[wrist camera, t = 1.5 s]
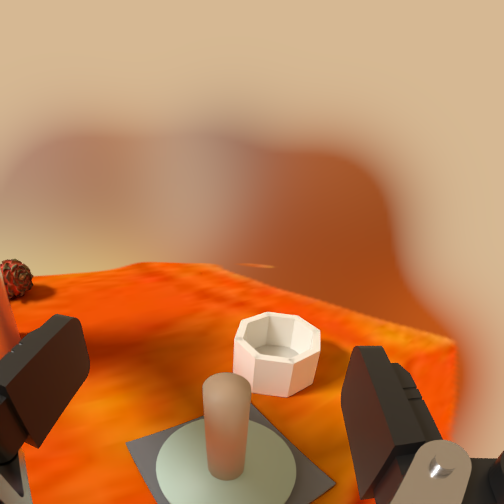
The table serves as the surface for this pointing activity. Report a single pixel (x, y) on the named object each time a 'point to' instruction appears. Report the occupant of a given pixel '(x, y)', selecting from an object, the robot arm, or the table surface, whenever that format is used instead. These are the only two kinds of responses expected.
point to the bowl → (276, 353)
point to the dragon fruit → (16, 277)
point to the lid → (225, 453)
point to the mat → (307, 473)
